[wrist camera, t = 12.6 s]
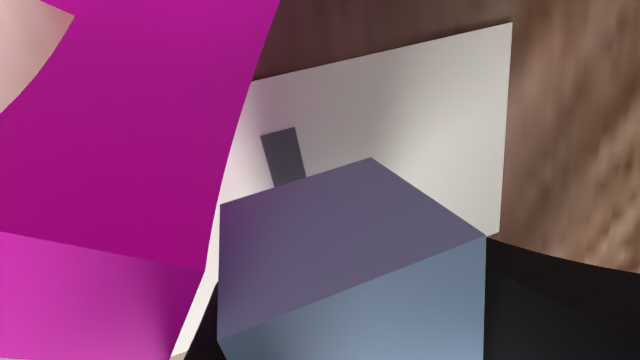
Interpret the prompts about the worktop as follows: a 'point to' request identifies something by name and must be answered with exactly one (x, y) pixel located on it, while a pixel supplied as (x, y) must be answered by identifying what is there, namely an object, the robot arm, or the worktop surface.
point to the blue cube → (349, 272)
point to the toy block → (120, 174)
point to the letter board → (378, 130)
